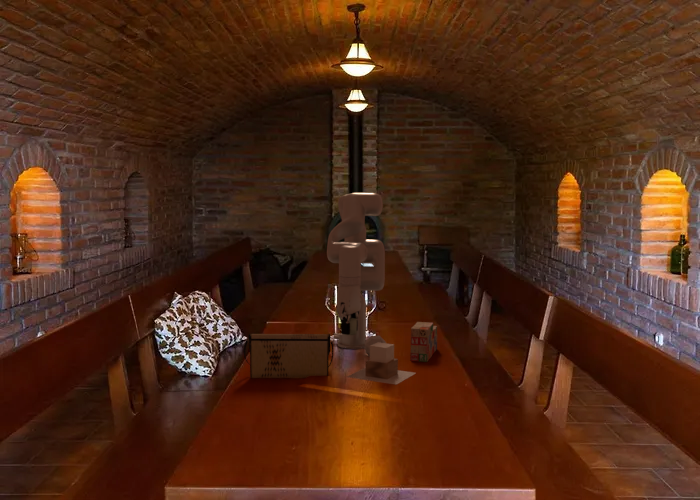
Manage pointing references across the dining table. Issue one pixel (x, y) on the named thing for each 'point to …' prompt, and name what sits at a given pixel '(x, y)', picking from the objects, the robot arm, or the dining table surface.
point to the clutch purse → (288, 355)
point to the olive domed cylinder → (353, 326)
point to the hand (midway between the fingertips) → (349, 331)
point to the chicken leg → (371, 341)
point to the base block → (381, 369)
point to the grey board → (393, 380)
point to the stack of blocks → (423, 341)
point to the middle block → (382, 352)
